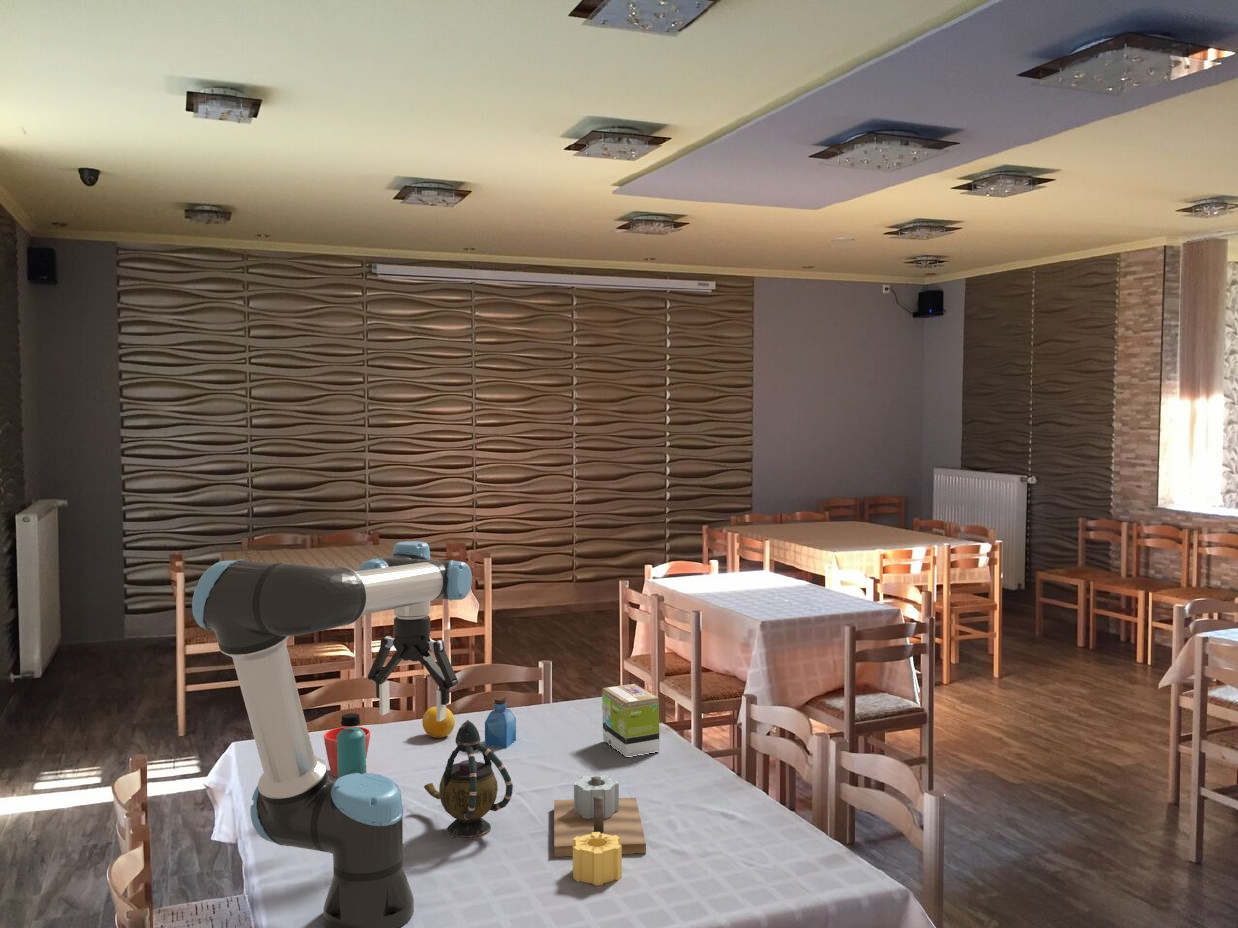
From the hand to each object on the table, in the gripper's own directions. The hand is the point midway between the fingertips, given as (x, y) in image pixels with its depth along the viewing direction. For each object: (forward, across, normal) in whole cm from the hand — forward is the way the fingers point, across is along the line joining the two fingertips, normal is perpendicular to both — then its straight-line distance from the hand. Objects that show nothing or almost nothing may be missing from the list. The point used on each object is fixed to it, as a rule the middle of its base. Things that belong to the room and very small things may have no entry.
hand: (412, 716), depth 210 cm
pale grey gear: (+21, -35, -16) cm, 44 cm away
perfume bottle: (+23, +7, -55) cm, 60 cm away
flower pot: (+23, +32, -24) cm, 46 cm away
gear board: (+23, -37, -11) cm, 45 cm away
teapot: (+24, -9, -4) cm, 25 cm away
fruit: (+23, +25, -55) cm, 65 cm away
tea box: (+23, -27, -63) cm, 72 cm away
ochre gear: (+23, -44, +8) cm, 51 cm away
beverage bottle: (+23, +20, -7) cm, 31 cm away
